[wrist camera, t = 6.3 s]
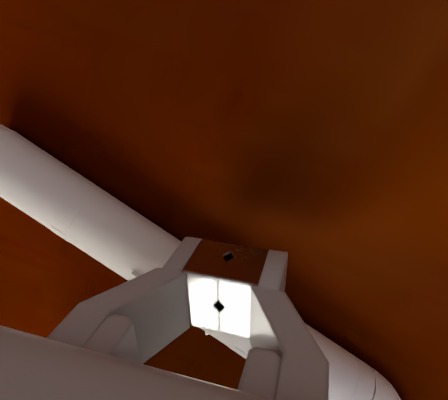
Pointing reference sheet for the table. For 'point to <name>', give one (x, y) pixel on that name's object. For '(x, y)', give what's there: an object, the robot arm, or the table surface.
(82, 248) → the marker
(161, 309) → the robot arm
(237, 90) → the table surface
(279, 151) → the table surface
